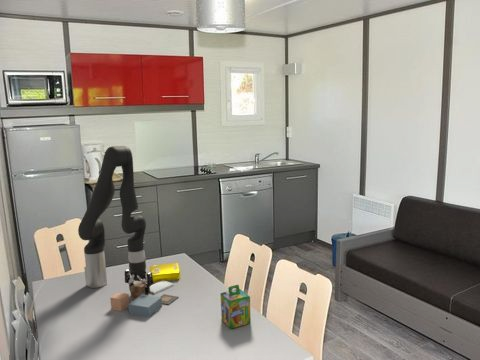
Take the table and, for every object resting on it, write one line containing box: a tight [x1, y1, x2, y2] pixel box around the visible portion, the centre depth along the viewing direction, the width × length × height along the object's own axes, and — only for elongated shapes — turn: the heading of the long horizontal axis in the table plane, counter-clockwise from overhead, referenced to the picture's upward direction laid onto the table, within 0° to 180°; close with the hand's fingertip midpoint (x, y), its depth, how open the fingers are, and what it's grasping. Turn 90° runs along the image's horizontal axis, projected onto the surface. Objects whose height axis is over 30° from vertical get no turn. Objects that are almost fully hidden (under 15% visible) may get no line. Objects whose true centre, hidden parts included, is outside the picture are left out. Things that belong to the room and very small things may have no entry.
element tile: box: [149, 262, 181, 284], centre depth 216 cm, size 15×15×5 cm
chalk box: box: [219, 284, 252, 330], centre depth 165 cm, size 9×9×15 cm
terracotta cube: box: [110, 292, 130, 312], centre depth 182 cm, size 6×6×6 cm
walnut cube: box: [129, 281, 145, 300], centre depth 192 cm, size 6×6×6 cm
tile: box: [160, 293, 179, 306], centre depth 188 cm, size 8×8×1 cm
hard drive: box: [149, 280, 175, 295], centre depth 201 cm, size 2×8×12 cm
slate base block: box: [128, 294, 163, 318], centre depth 179 cm, size 10×10×4 cm
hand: (139, 292), depth 192 cm, fingers open, 8 cm apart
